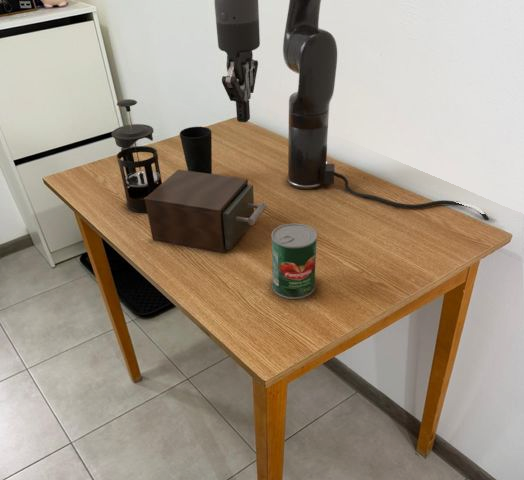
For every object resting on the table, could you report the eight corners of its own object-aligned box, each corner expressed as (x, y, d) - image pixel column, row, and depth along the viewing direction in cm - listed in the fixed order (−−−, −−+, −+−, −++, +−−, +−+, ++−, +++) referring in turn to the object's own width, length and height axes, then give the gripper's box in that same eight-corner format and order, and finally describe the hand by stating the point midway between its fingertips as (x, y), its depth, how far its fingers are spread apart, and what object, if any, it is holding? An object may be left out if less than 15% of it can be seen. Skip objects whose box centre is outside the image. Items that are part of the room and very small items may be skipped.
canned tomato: (294, 269, 98) (295, 218, 91) (323, 287, 94) (327, 234, 86) (263, 286, 94) (261, 234, 87) (292, 305, 90) (293, 252, 83)
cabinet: (249, 219, 113) (247, 178, 107) (223, 253, 103) (219, 210, 97) (183, 209, 118) (178, 169, 111) (152, 240, 108) (144, 198, 101)
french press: (175, 205, 119) (159, 101, 104) (140, 218, 115) (117, 112, 100) (150, 188, 126) (132, 89, 111) (116, 200, 122) (92, 99, 106)
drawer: (272, 221, 111) (271, 187, 105) (249, 252, 102) (247, 217, 96) (191, 208, 116) (187, 175, 111) (163, 237, 107) (157, 203, 102)
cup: (214, 186, 126) (209, 137, 118) (184, 187, 126) (177, 138, 118) (217, 173, 132) (212, 126, 124) (188, 174, 132) (181, 126, 124)
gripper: (243, 26, 82) (249, 134, 94) (270, 10, 91) (272, 111, 103) (201, 24, 84) (212, 131, 96) (231, 9, 93) (238, 108, 105)
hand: (243, 120), depth 99 cm, fingers closed
